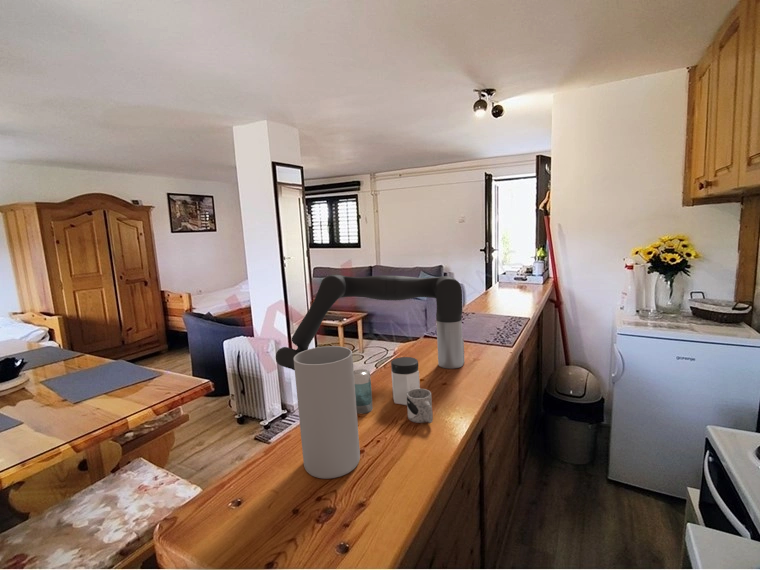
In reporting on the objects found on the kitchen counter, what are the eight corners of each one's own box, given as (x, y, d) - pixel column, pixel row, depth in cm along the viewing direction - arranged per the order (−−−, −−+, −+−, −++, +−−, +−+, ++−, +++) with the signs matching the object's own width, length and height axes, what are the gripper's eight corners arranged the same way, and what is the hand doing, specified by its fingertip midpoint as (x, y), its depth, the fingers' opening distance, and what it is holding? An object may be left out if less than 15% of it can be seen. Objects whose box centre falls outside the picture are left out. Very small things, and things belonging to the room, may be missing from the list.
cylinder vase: (306, 486, 75) (295, 368, 72) (301, 453, 87) (292, 351, 84) (366, 472, 79) (357, 359, 76) (353, 442, 91) (346, 343, 88)
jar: (402, 408, 107) (400, 368, 105) (386, 399, 114) (384, 361, 112) (426, 399, 112) (424, 361, 110) (409, 391, 119) (407, 354, 117)
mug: (403, 414, 103) (402, 391, 103) (425, 409, 106) (423, 386, 105) (420, 431, 94) (419, 406, 93) (443, 424, 96) (442, 400, 96)
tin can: (364, 403, 112) (361, 367, 111) (376, 408, 108) (374, 372, 106) (349, 409, 108) (346, 373, 107) (361, 415, 104) (358, 378, 103)
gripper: (293, 362, 122) (320, 374, 110) (329, 351, 131) (357, 361, 119) (295, 384, 123) (322, 398, 111) (331, 372, 132) (359, 383, 120)
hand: (340, 379), depth 115 cm, fingers open, 8 cm apart
